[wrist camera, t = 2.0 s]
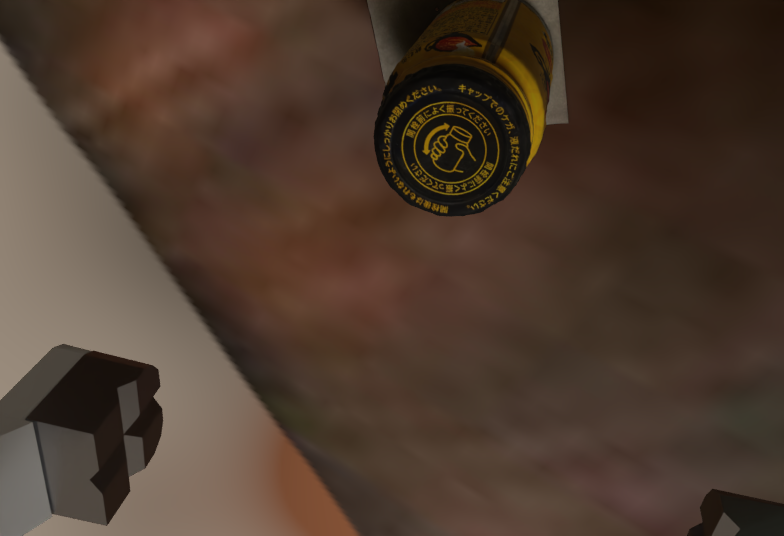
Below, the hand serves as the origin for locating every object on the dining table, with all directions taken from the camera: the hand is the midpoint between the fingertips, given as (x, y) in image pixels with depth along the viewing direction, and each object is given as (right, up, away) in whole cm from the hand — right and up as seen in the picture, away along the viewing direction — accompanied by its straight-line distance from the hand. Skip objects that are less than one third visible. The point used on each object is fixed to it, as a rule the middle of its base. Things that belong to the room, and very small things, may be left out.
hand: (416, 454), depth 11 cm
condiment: (+3, +13, +24) cm, 27 cm away
